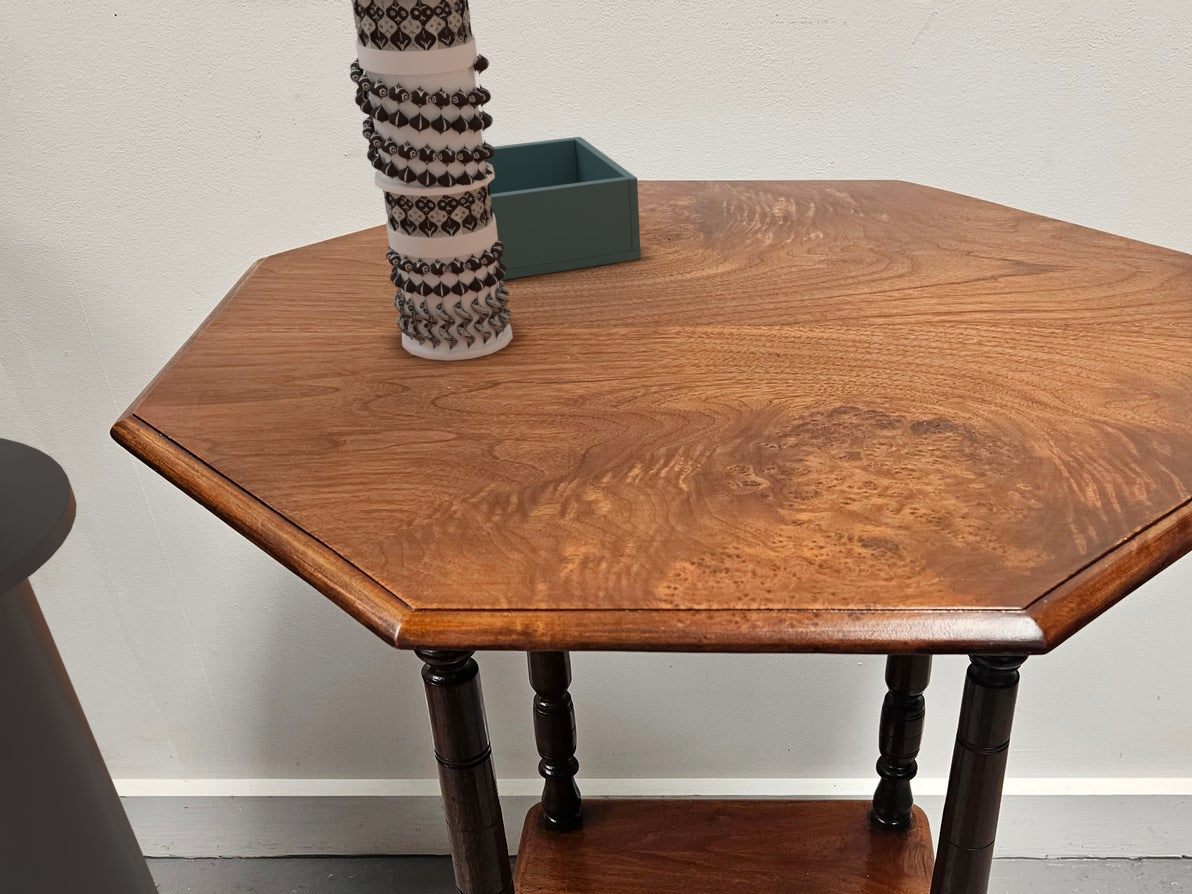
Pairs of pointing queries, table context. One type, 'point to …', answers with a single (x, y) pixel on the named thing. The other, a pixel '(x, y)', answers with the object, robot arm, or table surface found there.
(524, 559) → the table surface
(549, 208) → the bin
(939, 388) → the table surface
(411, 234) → the bracelet display cylinder
